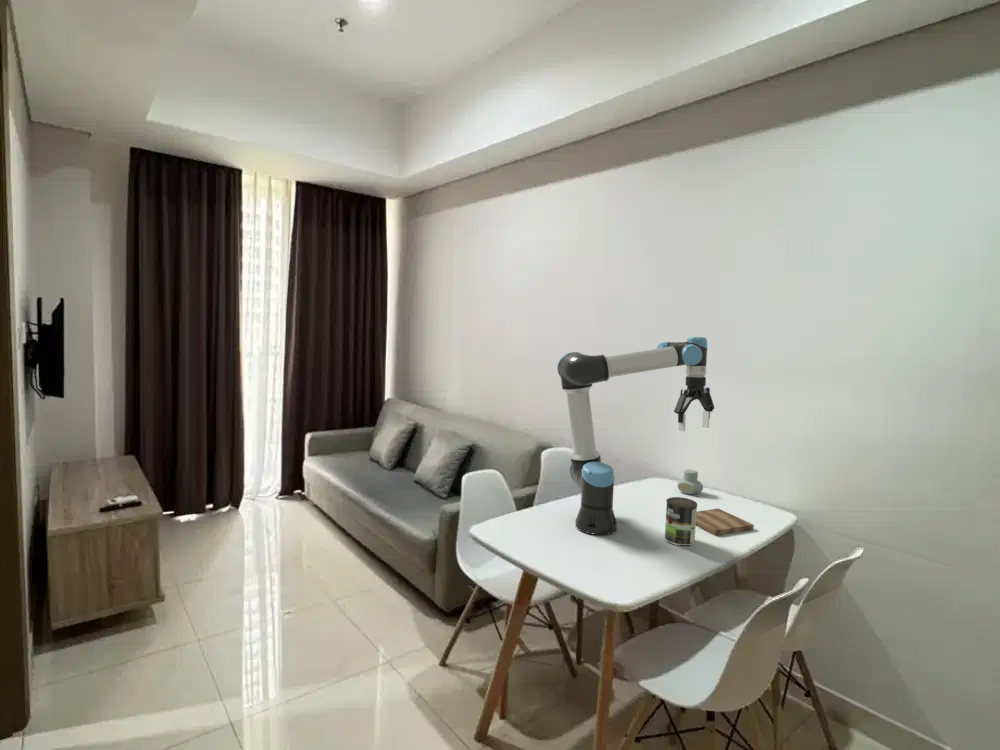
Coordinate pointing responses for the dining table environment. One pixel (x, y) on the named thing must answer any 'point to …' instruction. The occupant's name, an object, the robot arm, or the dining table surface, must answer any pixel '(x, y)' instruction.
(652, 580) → the dining table surface
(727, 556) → the dining table surface
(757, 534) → the dining table surface
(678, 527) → the coffee can
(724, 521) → the walnut board
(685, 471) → the air freshener
